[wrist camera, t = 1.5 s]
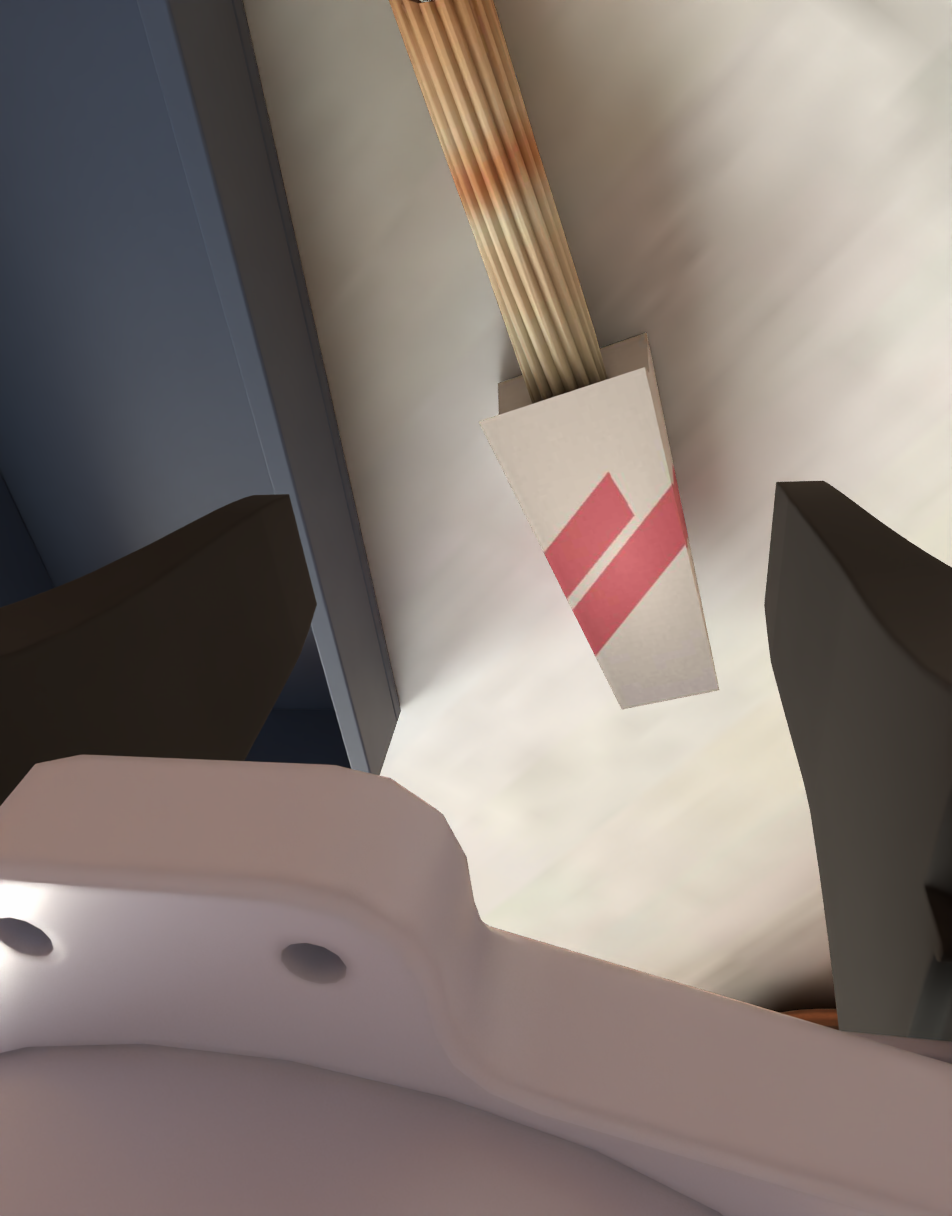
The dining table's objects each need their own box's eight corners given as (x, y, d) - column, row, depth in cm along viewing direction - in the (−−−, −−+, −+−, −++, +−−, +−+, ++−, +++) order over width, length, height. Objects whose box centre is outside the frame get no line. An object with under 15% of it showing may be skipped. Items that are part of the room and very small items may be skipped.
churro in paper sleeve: (600, 746, 23) (270, -135, 14) (604, 687, 26) (321, -105, 17) (743, 722, 22) (478, -257, 13) (734, 661, 24) (503, -207, 15)
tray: (111, 710, 30) (55, 783, 27) (-294, -152, 17) (-481, -189, 14) (401, 710, 28) (375, 790, 25) (185, -263, 15) (80, -333, 12)
